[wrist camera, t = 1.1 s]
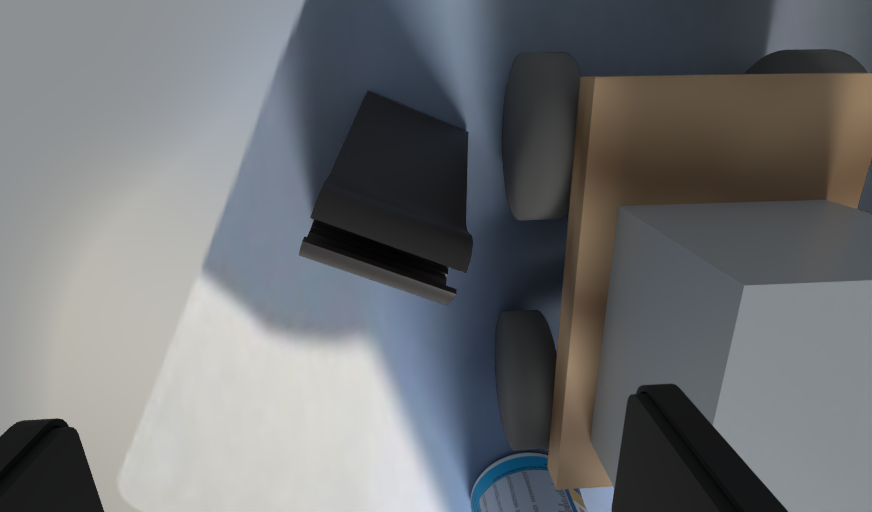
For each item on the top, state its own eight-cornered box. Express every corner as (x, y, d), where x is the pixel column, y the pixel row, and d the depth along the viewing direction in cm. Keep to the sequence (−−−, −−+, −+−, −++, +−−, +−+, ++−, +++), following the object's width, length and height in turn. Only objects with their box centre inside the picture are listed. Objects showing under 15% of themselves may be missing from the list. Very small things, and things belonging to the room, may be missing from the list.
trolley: (504, 54, 27) (668, 36, 11) (768, 51, 28) (1287, 30, 12) (493, 394, 35) (577, 683, 19) (700, 382, 36) (955, 648, 20)
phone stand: (368, 89, 27) (348, 104, 16) (468, 131, 29) (513, 173, 17) (316, 235, 30) (269, 335, 19) (409, 268, 31) (416, 380, 20)
